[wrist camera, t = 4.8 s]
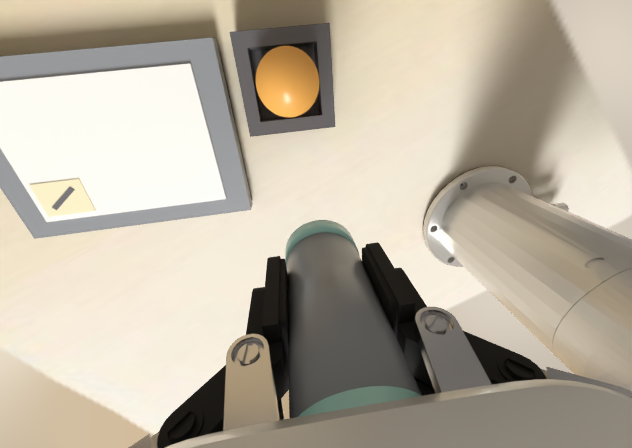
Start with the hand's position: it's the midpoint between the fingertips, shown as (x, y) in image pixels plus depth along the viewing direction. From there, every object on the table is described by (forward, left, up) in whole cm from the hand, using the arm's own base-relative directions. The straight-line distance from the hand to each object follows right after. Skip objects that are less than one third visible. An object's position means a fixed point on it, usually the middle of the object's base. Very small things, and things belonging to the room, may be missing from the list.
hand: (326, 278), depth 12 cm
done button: (0, -8, -14) cm, 16 cm away
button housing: (0, -8, -16) cm, 18 cm away
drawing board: (+15, -5, -16) cm, 23 cm away
